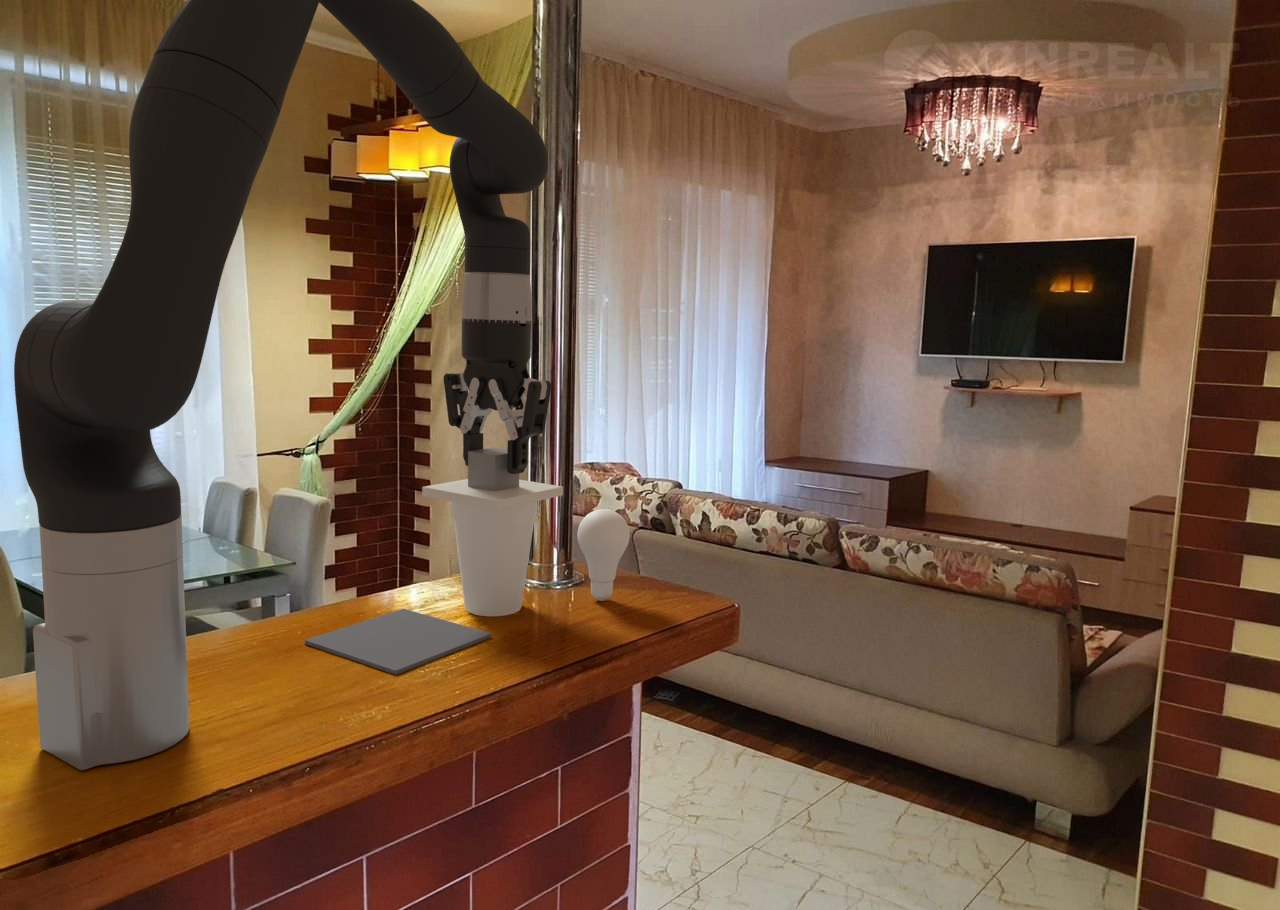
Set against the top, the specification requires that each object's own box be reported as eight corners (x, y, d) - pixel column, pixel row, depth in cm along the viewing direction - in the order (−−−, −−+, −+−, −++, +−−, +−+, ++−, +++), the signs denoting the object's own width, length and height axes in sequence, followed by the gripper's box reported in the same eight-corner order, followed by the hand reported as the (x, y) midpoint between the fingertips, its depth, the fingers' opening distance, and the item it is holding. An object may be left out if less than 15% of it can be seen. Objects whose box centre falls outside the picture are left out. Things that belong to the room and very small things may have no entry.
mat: (395, 674, 87) (395, 670, 87) (304, 643, 94) (304, 640, 94) (491, 637, 97) (491, 633, 97) (403, 612, 104) (403, 608, 104)
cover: (497, 510, 98) (497, 462, 97) (422, 495, 104) (422, 450, 103) (562, 495, 107) (563, 451, 106) (490, 482, 113) (490, 441, 112)
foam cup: (528, 622, 102) (530, 505, 100) (443, 619, 103) (443, 502, 101) (539, 596, 112) (541, 489, 110) (461, 593, 112) (462, 486, 110)
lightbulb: (566, 603, 110) (568, 510, 108) (591, 590, 115) (594, 502, 114) (612, 611, 107) (615, 517, 106) (636, 598, 113) (639, 508, 111)
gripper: (424, 314, 103) (424, 466, 106) (525, 318, 95) (522, 482, 98) (472, 315, 109) (470, 458, 112) (570, 319, 102) (566, 473, 104)
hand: (495, 469), depth 105 cm, fingers open, 5 cm apart
